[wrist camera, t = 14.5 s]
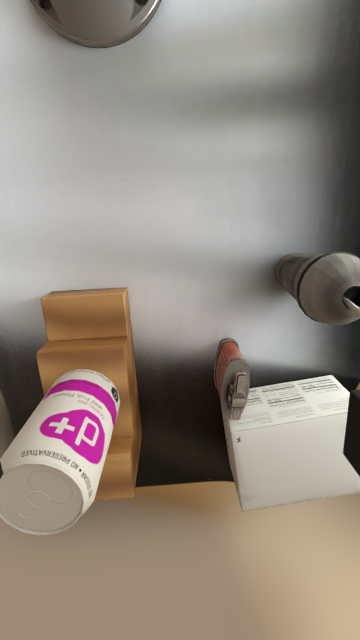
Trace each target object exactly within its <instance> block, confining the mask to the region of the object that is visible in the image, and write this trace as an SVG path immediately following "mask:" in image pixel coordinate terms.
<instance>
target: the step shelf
mask: <svg viewBox="0 0 360 640" xmlns="http://www.w3.org/2000/svg"><path fill="white" fill-rule="evenodd" d="M41 303H42V309H43V314H44V319H45V325H46V330H47V336H48V342H47V343H46V344H45V345H44V346H43V347H42V348H41V349H40V350H39V351H38V352H37V353H36V357H37V362H38V367H39V372H40V377H41V382H42V387H43V392H44V397H45V395H46V394H47V392H48V391H49V390H50V388H51V387H52V385H53V384H54V382H55V381H56V380H57V379H58V378H59V377H61V376H62V375H63V374H65V373H66V372H70V371H73V370H77V369H83V370H92V371H95V372H98V373H100V374H103V375H104V376H105V377H106V378H108V379H109V380H110V381H112V383H113V384H114V386H115V387H116V389H117V391H118V393H119V399H120V406H119V410H118V415H117V418H116V422H115V426H114V429H113V433H112V436H111V440H110V444H109V447H108V451H107V455H106V458H105V462H104V466H103V469H102V473H101V477H100V480H99V484H98V488H97V491H96V495H95V499H94V500H102V499H118V498H133V496H134V490H135V483H136V476H137V468H138V461H139V454H140V447H141V439H142V427H141V417H140V408H139V398H138V388H137V378H136V368H135V359H134V349H133V339H132V329H131V320H130V310H129V300H128V290H127V287H126V288H108V289H90V290H73V291H55V292H51V293H49V294H48V295H46V296H44V297H43V298H41Z"/></svg>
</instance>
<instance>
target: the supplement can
mask: <svg viewBox="0 0 360 640" xmlns="http://www.w3.org/2000/svg"><path fill="white" fill-rule="evenodd" d="M119 406H120V399H119V393H118V391H117V389H116V387H115V386H114V384H113V383H112V381H110V380H109V379H108V378H106V377H105V376H104V375H103V374H100V373H98V372H95V371H92V370H83V369H77V370H73V371H70V372H66V373H65V374H63V375H62V376H61V377H59V378H58V379H57V380H56V381H55V382H54V384H53V385H52V387H51V388H50V390H49V391H48V392H47V394H46V395H45V397H44V398H43V399H42V401H41V402H40V404H39V405H38V406H37V408H36V409H35V411H34V412H33V414H32V415H31V416H30V418H29V419H28V421H27V422H26V423H25V425H24V426H23V428H22V429H21V430H20V432H19V433H18V435H17V436H16V438H15V439H14V440H13V442H12V443H11V445H10V446H9V448H8V449H7V450H6V452H5V453H4V454H3V456H2V458H1V459H0V462H1V466H2V470H3V475H2V477H1V478H0V518H1V519H2V520H3V521H4V522H5V523H6V524H8V525H9V526H11V527H13V528H14V529H16V530H18V531H21V532H24V533H28V534H31V535H52V534H56V533H60V532H63V531H65V530H66V529H68V528H70V527H71V526H73V525H74V524H75V523H76V521H77V520H78V519H79V518H80V517H81V515H83V514H84V513H85V512H86V511H87V509H88V508H89V506H90V505H91V504H92V502H93V501H94V499H95V495H96V491H97V488H98V484H99V480H100V477H101V473H102V469H103V466H104V462H105V458H106V455H107V451H108V447H109V444H110V440H111V436H112V433H113V429H114V426H115V422H116V418H117V415H118V410H119Z"/></svg>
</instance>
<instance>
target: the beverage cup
mask: <svg viewBox="0 0 360 640" xmlns="http://www.w3.org/2000/svg"><path fill="white" fill-rule="evenodd" d="M276 277H277V280H278V281H279V282H280V283H281V285H282V286H283V287H284V288H285V289H286V290H287V291H288V292H289V293H290V294H291V295H292V296H293V297H294V298H295V299H296V300H297V302H298V304H299V306H300V308H301V309H302V311H303V312H304V313H305V315H307V316H308V317H310V318H311V319H312V320H314V321H318V322H321V323H326V324H330V325H342V324H347V323H350V322H353V321H356V320H358V319H359V318H360V259H359V258H358V257H356V256H355V255H354V254H350V253H347V252H344V251H337V252H329V253H324V254H310V253H293V254H288V255H286V256H284V257H283V258H282V259H281V260H280V261H279V263H278V264H277V267H276Z"/></svg>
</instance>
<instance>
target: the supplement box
mask: <svg viewBox="0 0 360 640" xmlns="http://www.w3.org/2000/svg"><path fill="white" fill-rule="evenodd" d="M349 396H350V393H349V392H348V391H347V390H346V389H345V388H344V387H343V386H342V385H341V384H340V383H339V382H338V381H337V380H336V379H335V378H334V377H333V376H332V375H329V376H323V377H317V378H311V379H305V380H299V381H293V382H286V383H280V384H274V385H268V386H262V387H256V388H250V389H249V394H248V398H247V402H246V405H245V408H244V410H243V413H242V414H241V419H240V420H232V419H231V418H227V417H225V416H224V415H223V413H222V415H223V422H224V429H225V436H226V443H227V450H228V457H229V463H230V467H231V470H232V474H233V478H234V482H235V485H236V490H237V493H238V497H239V501H240V505H241V508H242V511H243V512H244V511H250V510H255V509H261V508H267V507H273V506H279V505H286V504H292V503H298V502H304V501H310V500H316V499H323V498H329V497H336V496H342V495H348V494H355V493H360V477H359V475H358V474H357V472H356V471H355V470H354V468H353V467H352V466H351V464H350V463H349V461H348V460H347V459H346V457H345V456H344V454H343V447H344V439H345V430H346V422H347V413H348V405H349ZM220 401H221V400H220Z"/></svg>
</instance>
